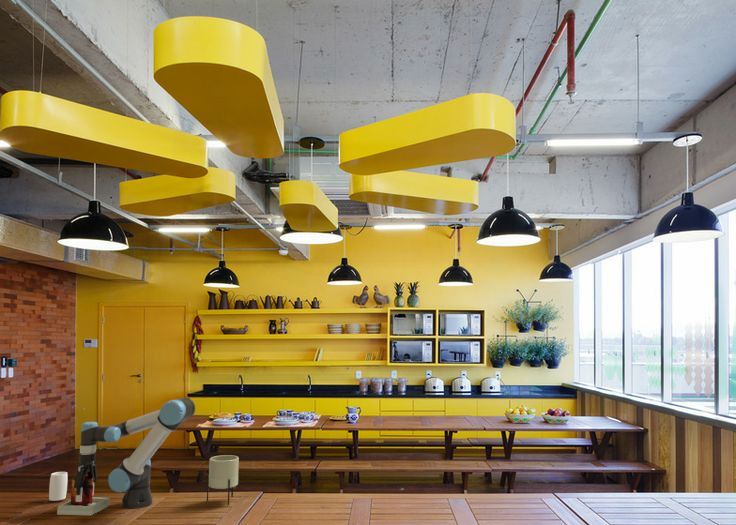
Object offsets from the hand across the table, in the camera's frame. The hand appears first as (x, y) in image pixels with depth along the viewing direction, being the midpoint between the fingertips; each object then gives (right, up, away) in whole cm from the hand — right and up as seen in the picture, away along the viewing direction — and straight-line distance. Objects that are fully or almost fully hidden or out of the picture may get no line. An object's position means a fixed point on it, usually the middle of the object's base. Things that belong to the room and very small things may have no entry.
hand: (84, 498), depth 286 cm
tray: (0, -6, -1) cm, 6 cm away
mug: (0, -2, 0) cm, 2 cm away
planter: (+67, -8, +14) cm, 69 cm away
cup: (-22, -8, +15) cm, 28 cm away
